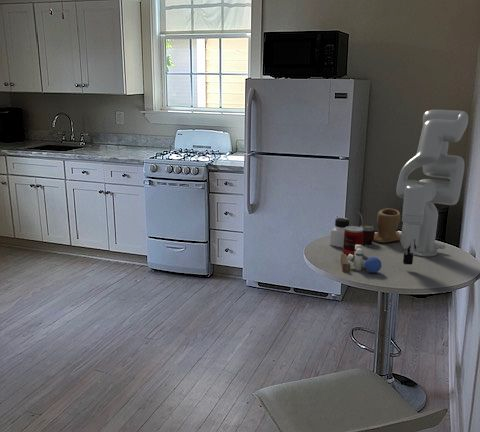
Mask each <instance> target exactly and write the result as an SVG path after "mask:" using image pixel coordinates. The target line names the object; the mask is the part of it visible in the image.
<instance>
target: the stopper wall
mask: <svg viewBox="0 0 480 432" xmlns="http://www.w3.org/2000/svg"><path fill="white" fill-rule="evenodd" d="M347 257H348V255H346V254H344V253H341V254H340V265H341V271H342V272H345V273H346V272H347V273H348V272H349V260H348V259H347Z"/></svg>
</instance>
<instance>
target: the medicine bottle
mask: <svg viewBox="0 0 480 432" xmlns="http://www.w3.org/2000/svg"><path fill="white" fill-rule="evenodd" d="M347 226H350V219H348V218H346V217H338V218H335V222H334V228H333V229H331V230H330V240H329V241H330V243H329V246H332V247H337V248H342V249H343V243H344V231H345V227H347Z"/></svg>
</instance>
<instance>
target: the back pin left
mask: <svg viewBox="0 0 480 432" xmlns="http://www.w3.org/2000/svg"><path fill="white" fill-rule="evenodd" d="M363 252H364V249H363V248H362V249H356V260H355V265H354V270H355V271H362V266H361V265H362V260H363V254H364V253H363Z"/></svg>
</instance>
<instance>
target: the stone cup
mask: <svg viewBox="0 0 480 432" xmlns="http://www.w3.org/2000/svg"><path fill="white" fill-rule="evenodd" d="M400 222H401V213H400V211H399V210H397V209H394V208H389V207H388V208H387V207H386V208H383V209H380V210H379V211H378V212H377V217H376V227H377V233H375V235H374V239H373V241H374V242H378V243H389V242H395V241H397V242H398V241H400V239H401V234H400V231H397V229H398V227H399V225H400Z"/></svg>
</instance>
